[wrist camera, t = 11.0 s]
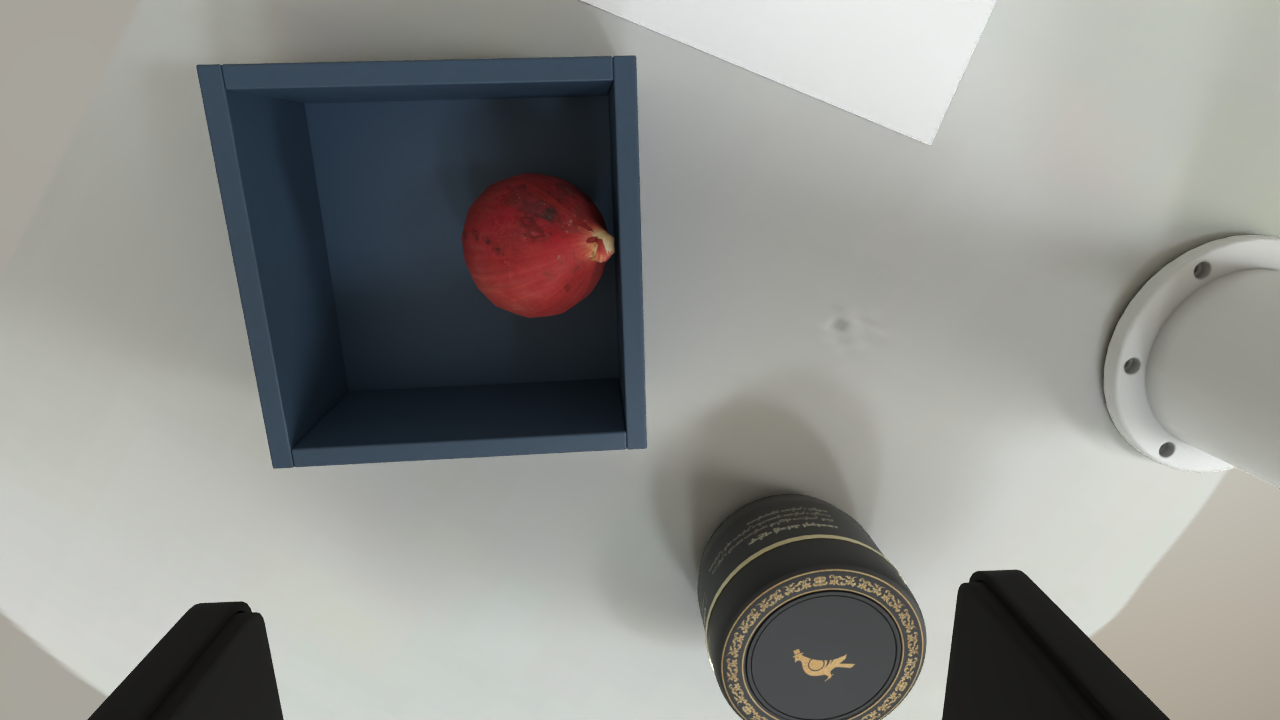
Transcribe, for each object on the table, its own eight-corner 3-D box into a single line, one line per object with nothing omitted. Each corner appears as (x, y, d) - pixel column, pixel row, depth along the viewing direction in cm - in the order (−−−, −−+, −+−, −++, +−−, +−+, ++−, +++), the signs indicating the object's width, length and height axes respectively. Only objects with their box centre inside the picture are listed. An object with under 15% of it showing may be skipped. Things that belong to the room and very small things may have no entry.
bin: (625, 77, 32) (636, 55, 24) (635, 388, 36) (646, 448, 28) (288, 85, 31) (195, 64, 23) (338, 402, 35) (272, 469, 28)
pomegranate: (398, 250, 29) (518, 238, 23) (477, 156, 31) (602, 125, 26) (490, 341, 32) (612, 349, 27) (554, 250, 35) (679, 240, 29)
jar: (875, 622, 41) (938, 726, 33) (704, 657, 41) (730, 768, 33) (860, 466, 38) (925, 542, 30) (676, 502, 38) (697, 587, 30)
